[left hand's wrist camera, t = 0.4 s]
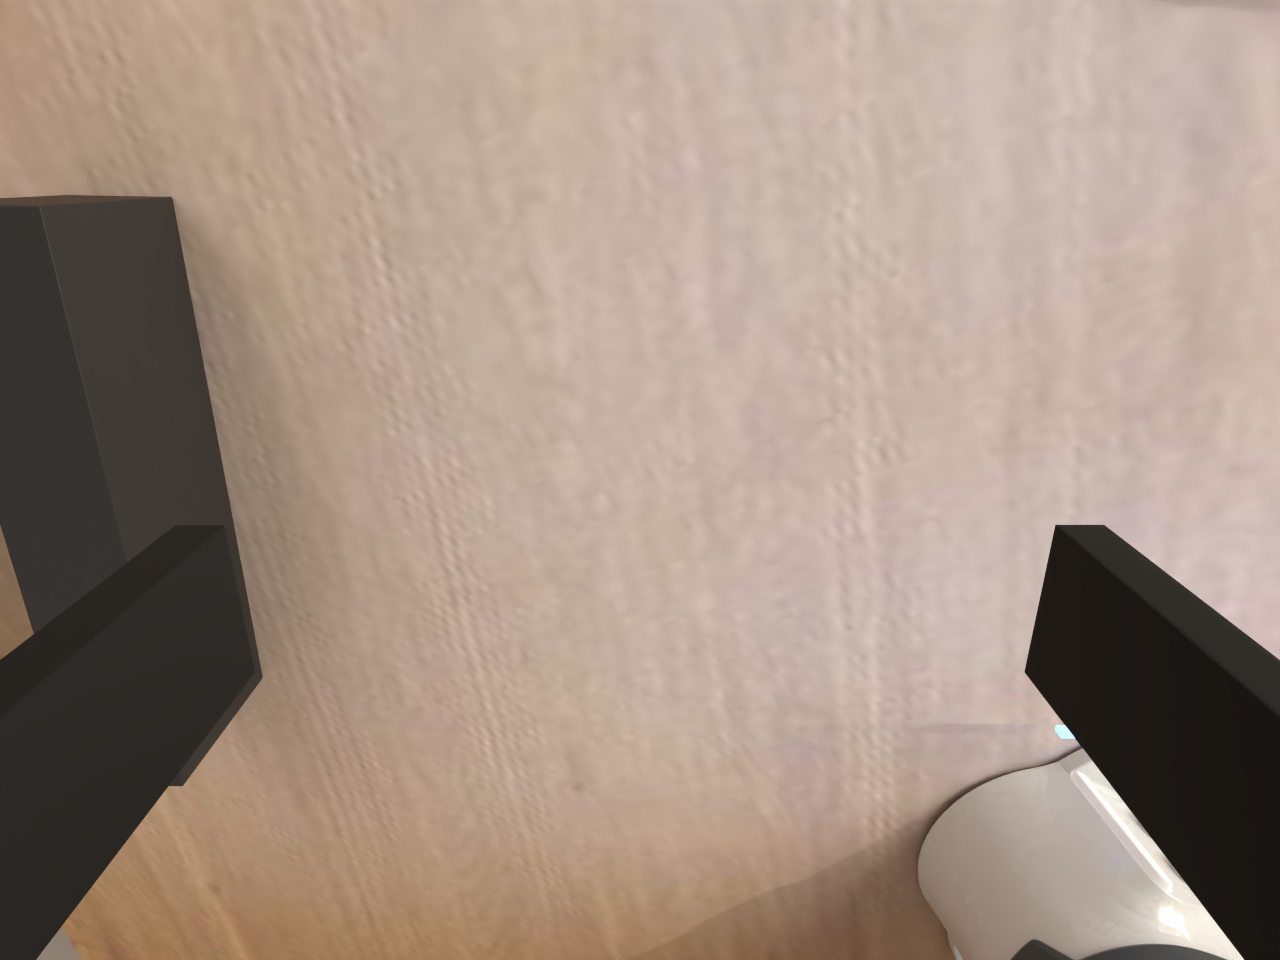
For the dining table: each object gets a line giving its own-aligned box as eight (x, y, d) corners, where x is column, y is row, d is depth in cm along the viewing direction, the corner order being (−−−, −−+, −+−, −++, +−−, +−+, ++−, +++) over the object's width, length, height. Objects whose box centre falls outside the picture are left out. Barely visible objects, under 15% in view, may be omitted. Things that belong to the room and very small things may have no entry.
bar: (64, 195, 36) (-99, 203, 28) (172, 197, 36) (39, 205, 28) (177, 676, 45) (79, 785, 37) (263, 678, 45) (182, 786, 37)
